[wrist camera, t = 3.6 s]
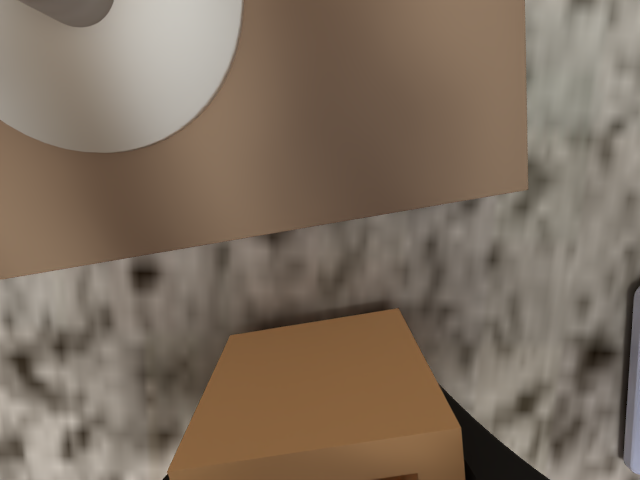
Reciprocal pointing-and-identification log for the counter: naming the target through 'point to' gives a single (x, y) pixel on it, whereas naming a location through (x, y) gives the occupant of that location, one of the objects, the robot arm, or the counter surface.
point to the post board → (246, 118)
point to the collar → (323, 407)
